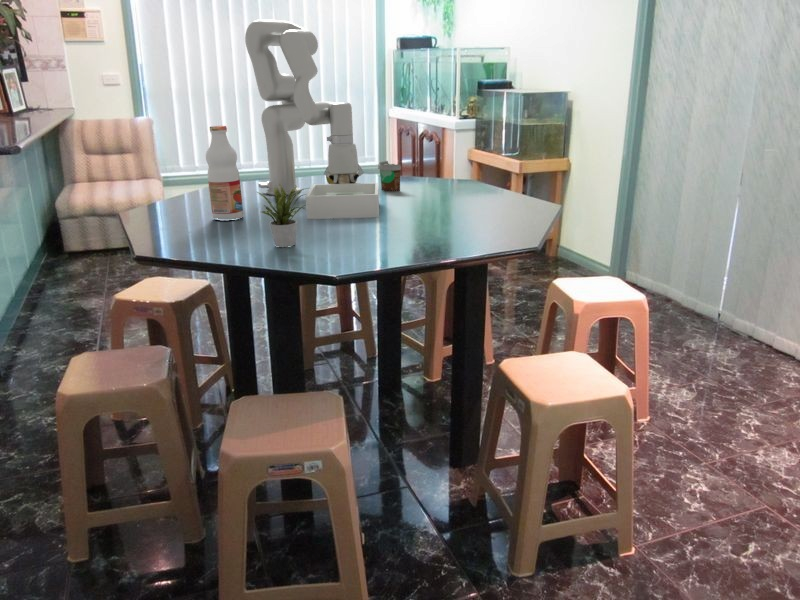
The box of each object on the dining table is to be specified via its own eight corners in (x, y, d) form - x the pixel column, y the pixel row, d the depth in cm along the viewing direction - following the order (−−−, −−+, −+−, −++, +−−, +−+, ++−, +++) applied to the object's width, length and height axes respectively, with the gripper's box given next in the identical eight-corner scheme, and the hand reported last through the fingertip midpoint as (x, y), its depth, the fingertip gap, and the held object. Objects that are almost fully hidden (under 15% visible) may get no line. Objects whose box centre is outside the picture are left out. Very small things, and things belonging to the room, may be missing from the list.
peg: (339, 200, 227) (337, 171, 223) (339, 198, 230) (338, 170, 227) (350, 200, 227) (349, 171, 223) (351, 198, 230) (349, 169, 227)
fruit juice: (211, 217, 205) (200, 125, 196) (241, 214, 208) (232, 124, 199) (214, 223, 197) (202, 128, 187) (245, 220, 200) (236, 126, 190)
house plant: (328, 244, 169) (324, 181, 164) (286, 256, 160) (280, 189, 154) (293, 236, 178) (288, 177, 173) (251, 247, 169) (245, 184, 163)
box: (307, 219, 199) (305, 196, 197) (314, 205, 220) (312, 184, 217) (378, 217, 199) (378, 194, 197) (379, 203, 220) (378, 182, 218)
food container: (373, 188, 249) (372, 162, 246) (388, 186, 251) (387, 160, 248) (386, 193, 238) (385, 165, 235) (401, 191, 241) (401, 164, 237)
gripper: (316, 141, 218) (320, 196, 224) (366, 140, 218) (368, 194, 224) (318, 139, 225) (322, 192, 231) (366, 138, 225) (368, 190, 231)
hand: (344, 192), depth 228 cm, fingers closed on peg, 4 cm apart
